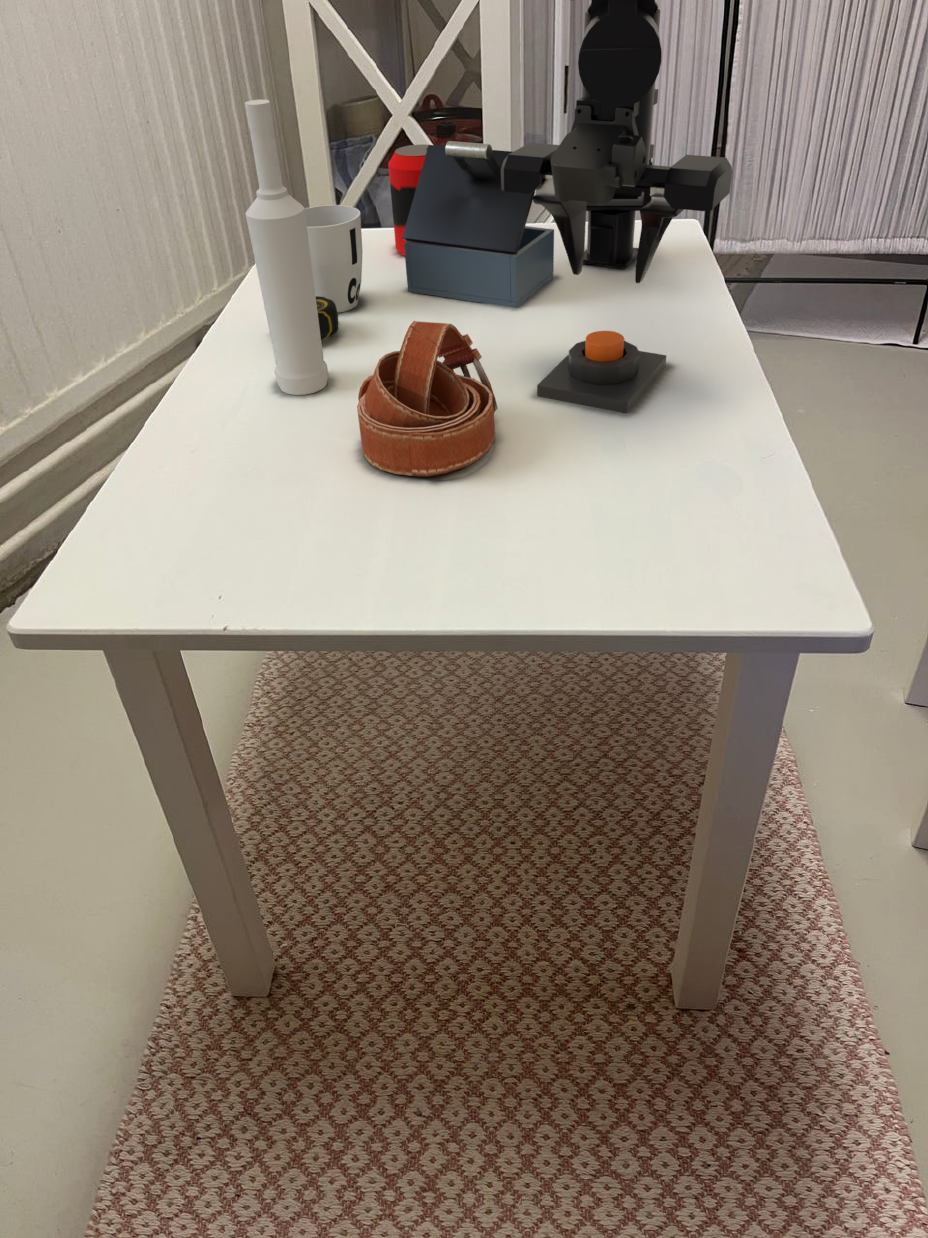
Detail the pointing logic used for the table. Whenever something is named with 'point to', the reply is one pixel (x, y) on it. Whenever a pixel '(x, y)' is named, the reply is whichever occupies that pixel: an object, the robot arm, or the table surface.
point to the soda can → (404, 186)
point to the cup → (336, 253)
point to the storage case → (482, 270)
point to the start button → (604, 346)
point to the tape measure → (327, 317)
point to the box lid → (466, 201)
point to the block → (602, 378)
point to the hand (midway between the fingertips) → (607, 277)
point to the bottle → (283, 265)
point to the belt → (427, 405)
